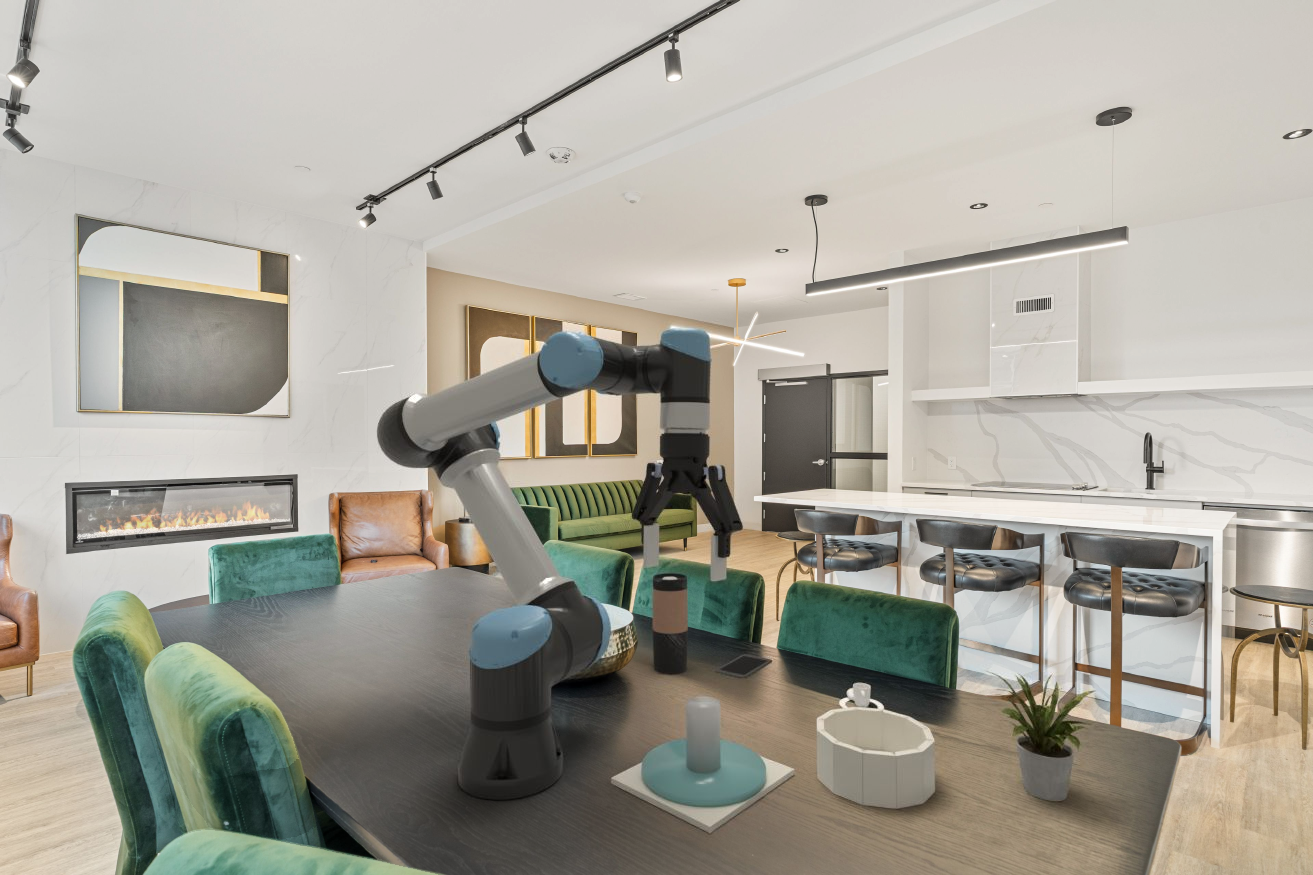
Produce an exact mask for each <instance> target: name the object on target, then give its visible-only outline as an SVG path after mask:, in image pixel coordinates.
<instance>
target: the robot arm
mask: <svg viewBox="0 0 1313 875" xmlns="http://www.w3.org/2000/svg"><path fill="white" fill-rule="evenodd" d="M710 338H711V337H710V335H709V333H708V332H706V331H705V330H704V329H703V330H702V329H700V328H695V327H673V328H668V329H664V330H663V331H662V333H661V335H660V340H659V343H657V344H652V345H650V344H649V345H626V344H622V343H618V342H614V341H610V340H606V339H603V338H600V337H596V336H592V335H589V334H586V333H584V332H581V331H580V332H577V331H567V330H563V331H558V332H555V333H553V334H552V335H550V336H549V338H548V339H547V340H546V342H545V343H543V345H542V347H541V349H540V350H539V351H536V352H534V353H532V354H528V355H526V356H524V357H522V358H521V357H520V358H519V359H516V360H514V361H511V362H509V363H507V364H504V365H501V366H499V367H495V368H494V369H492V370H489V371H486V372H484V373H482V374H479V375H478V376H474V377H473V378H470V379H467V380H465V381H462V382H459V383H458V384H457V383H456V384H455V385H451V386H450V387H447V388H445V389H442V390H440V391H437V392H435V393H432V394H427V393H416V394H412V395H410V396H408V397H406V398H403V399H401V400H399V401H397V402H394V403H393V404H392V405H390V406H389V407H387V409H385V411H384V412H383V413H382V414H381V416H380V418H379V420H378V423H377V429H376V438H377V442H378V445H379V448H380V450H381V451H382V452H383V454H384V455H385V456H386V457H387V459H389V460H390V461H392V462H393V463H395V464H397V465H398V466H402V467H404V468H410V469H411V468H412V469H433V471H434V472H435V474H436V477H437V478H438V481H439V482H440V484H441V485H442V486H443V487H445V488H450V489H453V490H454V491H455V492H456V495H457V496H458V498H459V500H460V502H461V503H462V505H463V507H464V509H465V511H466V513H467V514H468V516H469V518H470V521H471V522H472V524H473V526H474V528H475V529H476V531H477V533H478V535H479V537H480V539H481V540H482V542H483V544H484V546H485V548H486V549H487V551H488V554H489V555H490V557H491V559H492V560H493V563H494V564H495V566H496V568H497V570H498V571H499V574H500V576H501V577H502V579H503V581H504V584H506V586H507V588H508V590H509V592H510V594H511V595H512V598H513V600H514V601H515V605H514V606H513V605H512V606H511V607H503V608H500V609H497V610H493V611H491V612H488V613H487V614H484V615H483V616H482V617H481V618H479V619H478V620H477V621H476V622H475V624H474V625H473V627H472V630H471V636H470V637H471V640H470V646H469V662H470V663H469V671H470V672H469V673H470V674H469V676H470V678H469V679H470V685H469V686H470V725H469V730H468V732H467V735H466V739H465V742H464V745H463V748H462V752H461V756H460V758H459V761H458V763H457V764H458V766H457V779H458V780H457V782H458V785H459V787H460V788H461V789H462V790H463V791H464V792H465V793H467V794H469V795H471V796H474V797H477V798H480V799H486V800H512V799H518V798H523V797H528V796H530V795H534V794H537V793H539V792H542V791H543V790H546V789H548V788H549V787H550V786H551V787H552V785H554V784H555V783H556V782H557V781H558V780H559V779H560V778H561V776H562V774H563V771H564V755H563V749H562V746H561V743H560V740H559V738H558V734H557V732H556V729H555V724H554V722H553V720H552V687H553V686H555V685H557V684H559V683H561V682H563V681H564V680H566V679H568V678H570V677H572V676H573V675H576V674H578V673H579V672H580V673H581V672H584V671H586V670H588V668H590V667H591V666H592V665H594V664H595V663H596V662H598V661H599V660H600V659H601V658H602V657H603V656H604V655H605V653H606V651H607V650H608V648H609V646H610V645H609V644H610V641H611V640H610V638H611V635H612V626H611V620H610V617H609V613H608V611H607V609H606V607H605V606H604V605H603V604H602V603H601V601H599V599H597V598H595V597H591V596H590V595H587V594H582V592H581V590H580V588H579V586H577V583H576V582H575V580H574V579H572V578H567V577H563V576H562V575H561V574H560V572H559V570H558V568H557V567H556V565H555V564H554V562H553V560H552V558H551V556H550V555H549V553H548V552H547V550H546V548H545V546H544V545H543V543H542V541H541V540H540V538H539V536H538V534H537V532H536V530H535V528H534V527H533V525H532V523H531V522H530V520H529V519H528V516H527V515H526V513H525V511H524V510H523V508H522V506H521V505H520V503H519V500H518V499H517V498H516V495H515V494H514V492H513V490H512V489H511V487H510V486H509V483H508V482H507V480H506V478H505V476H504V475H503V473H502V471H501V470H500V468H499V466H498V465H499V462H500V459H501V456H502V455H501V453H500V446H501V442H500V441H499V439H500V438H501V434H500V429H499V426H498V424H497V422H499V421H501V420H505V419H507V418H510V417H513V416H516V415H518V414H520V413H524V412H527V411H530V410H531V409H534V408H537V407H541V406H542V405H546V404H548V403H550V402H553V401H556V400H559V399H563V398H566V397H569V396H571V395H574V394H577V393H579V392H583V391H587V390H588V391H589V390H590V391H595V392H596V393H598V394H599V395H609V396H622V395H640V394H641V395H642V394H644V395H645V394H659V396H660V397H659V398H660V401H659V402H660V403H659V404H660V409H659V410H660V417H659V428H660V430H663V433H660V435H659V456H660V457H661V458H662V462H648V463H647V464H646V471H645V478H644V481H643V482H642V486H641V488H640V490H639V493H638V497H637V499H636V501H635V505H634V507H633V511H632V513H631V518H632V520H636V521H638V522H639V524H640V526H641V533H640V534H641V540H640V542H641V545H643V556H642V557H643V558H642V559H643V562H642V563H643V565H642V567H643V568H646V569H647V568H653V567H659V566H660V564H659V563H660V524H658V523H659V522H658V518H660V515H661V514H662V513H663V511H664V510H665V509H666V507H667V505H668V503H669V502H670V501H671V499H672V498H673V496H674V495H676V494H682V495H690V496H691V497H692V498H693V499H695V500H696V503H697V504H698V506H699V507H700V508H701V510H702V513H703V514H704V516H705V518H706V519H707V520H708V523H709V524H710V525H711V527H712V529H713V531H714V533H712V534H710V581H711V582H718V581H723V580H727V562H728V560H727V559H728V558H730V556H731V540H732V538H731V536H732V534H734V533H736V532H741V531H742V530H743V528H744V525H743V522H742V520H741V517H740V514H739V512H738V509H737V507H736V503H735V501H734V498H733V496H732V492H731V490H730V488H729V484H728V483H727V477H726V467H725V466H724V465H721V464H719V465H717V464H716V465H715V464H714V465H709V466H708V463H707V460H708V458H709V457H710V441H711V440H710V438H711V437H710V435H709V433H706V431H709V429H710V417H711V416H710V414H711V412H710V411H711V406H710V404H711V399H710V396H711V395H710V394H711V365H712V364H711V363H712V358H711V340H710ZM662 478H663V479H662ZM706 480H708V482H707V481H706ZM708 483H709V484H708Z"/></svg>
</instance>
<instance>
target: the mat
mask: <svg viewBox="0 0 1313 875" xmlns="http://www.w3.org/2000/svg"><path fill="white" fill-rule="evenodd" d="M759 756H760V757H761V758H762V759H763V761H764V763H765V765H766V783H765V785H764V787H763V789H762V790H761V791H760V792H759V793H758V794H756V795H755V796H753V797H752V798H750V799H748V800H746V801H743V802H740V803H737V804H733V805H728V806H721V807H694V806H687V805H682V804H678V803H674V802H671V801H668V800H666V799H664V798H661V797H660V796H658V795H656V794H655V793H653V792H652V791H651V790H650V789H649V788H648V787H647V786H646V785H645V784H644V782H643V779H642V762H639V763H638V764H635V765H634V766H632V767H630V768H627V769H626V770H624V771H622V772H620V773H617V774H616V775H614V776H612V777H610V778H611V779H610V784H612V785H613V786H615V787H617V788H619V789H621V790H623V791H625V792H628V793H629V794H631V795H633V796H635V797H637V798H639V799H641V800H643V801H645V802H647V803H649V804H651V805H653V806H655V807H657V808H659V809H660V810H663V811H664V812H667V813H669V814H671V815H673V816H674V817H677V818H678V819H681V820H683V821H684V822H686V823H688V824H691V825H692V826H695V827H697V828H698V829H701V830H703V831H705V832H706V833H708V834H711V833H713V832H715V831H716V830H717V829H718V828H720V827H722V826H723V825H724V824H725V823H727V822H729V821H730V820H731V819H732V818H734V817H736V816H737V815H738V814H740V813H742V812H743V811H744V810H745V809H747V808H749V807H750V806H751V805H753V804H754V803H755V802H757V801H759V800H760V799H761V798H762V797H765V796H766V795H767V794H768V793H770V792H771V791H773V790H774V789H776V788H777V787H778V786H781V785H782V784H783V783H784V782H786V781H788V780H789V779H790V778H792V776H794V775H795V768H792V767H790V766H787V765H785V764H783V763H780V762H777V761H774V760H771V759H769V758H766V757H764V756H762V755H759Z"/></svg>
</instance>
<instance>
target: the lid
mask: <svg viewBox="0 0 1313 875" xmlns="http://www.w3.org/2000/svg"><path fill="white" fill-rule="evenodd" d="M721 724H722V723H721V702H720V700H719V699H718V698H715V697H711V696H707V695H705V696H700V695H699V696H693V697H690V698H688V699H686V700H685V738H680V739H675V740H674V739H673V740H671V741H668V742H665V743H662V744H659V745H657V746H656V747H654V748H652V749H651V750H649V751H648V752H647V754H645V756H644V757H643V759H642V779H643V782H644V784H645V785H646V786H647V787H648V788H649V789H650V790H651V791H652V792H653V793H655V794H656V795H658V796H660V797H661V798H664V799H666V800H668V801H671V802H674V803H678V804H682V805H687V806H694V807H721V806H728V805H733V804H737V803H740V802H743V801H746V800H748V799H750V798H752V797H753V796H755V795H756V794H758V793H759V792H760V791H761V790H762V789H763V787H764V785H765V783H766V765H765V763H764V761H763V759H762V758H761V757H762V756H761V755H760V754H758V753H757V752H755V750H753V749H751V748H749V747H748V746H746V745H743V744H740V743H737V742H736V741H735V742H734V741H731V740H727V739H721V733H722V732H721V729H722V728H721ZM760 756H761V757H760Z"/></svg>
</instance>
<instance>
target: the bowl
mask: <svg viewBox="0 0 1313 875" xmlns="http://www.w3.org/2000/svg"><path fill="white" fill-rule="evenodd" d="M816 773H817V774H816V775H817V778H816V779H817V780H818V781H819V782H820V783H821V784H823V786H824V787H826V788H827V789H828V790H829V791H830V792H831V793H832V794H834V795H836V796H839V797H840V798H841V797H842V798H844V799H846V800H849V801H852V802H854V803H856V804H859V805H862V806H867V807H877V808H887V809H894V810H895V809H904V808H908V807H913V806H918V805H923V804H925V802H927V801H928V799H930V798H931V796H933V794H934V793H935V792H936V742H935V738H934V736H933V733H932V731H931V729H930V728H929V727H928V726H926V725H925V724H923V723H922V722H920V721H918V720H916V719H915V718H913V717H912V716H909V715H905V714H901V713H898V712H894V711H891V710H887V709H885V708H884V709H877V708H876V707H875V708H874V707H873V708H872V707H867V708H863V707H857V706H849V707H848V708H842V707H841V708H836V709H830V710H829V711H827V712H825V713H823V714H822V715H820V716H818V717H816Z"/></svg>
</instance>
